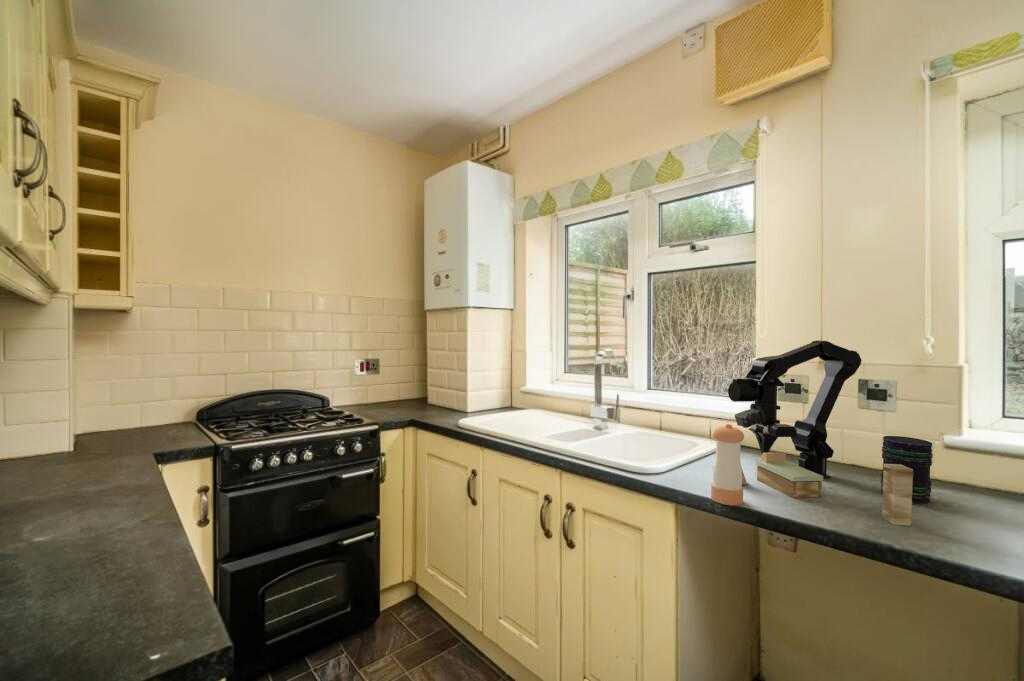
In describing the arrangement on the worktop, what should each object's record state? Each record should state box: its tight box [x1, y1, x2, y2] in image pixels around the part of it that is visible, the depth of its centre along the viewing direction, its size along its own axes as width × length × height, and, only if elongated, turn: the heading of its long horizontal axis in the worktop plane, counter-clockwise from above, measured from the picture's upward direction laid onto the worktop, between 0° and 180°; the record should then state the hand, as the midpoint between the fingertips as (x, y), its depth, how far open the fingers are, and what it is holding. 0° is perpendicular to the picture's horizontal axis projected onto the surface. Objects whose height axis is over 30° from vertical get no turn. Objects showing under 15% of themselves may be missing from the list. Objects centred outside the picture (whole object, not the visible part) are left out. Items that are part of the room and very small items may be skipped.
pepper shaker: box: [710, 423, 745, 506], centre depth 113 cm, size 7×7×19 cm
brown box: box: [881, 464, 913, 526], centre depth 102 cm, size 4×4×12 cm
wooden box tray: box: [756, 465, 823, 499], centre depth 123 cm, size 8×14×4 cm, turn 7°
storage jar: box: [880, 435, 933, 506], centre depth 117 cm, size 10×10×15 cm
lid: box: [755, 451, 824, 482], centre depth 123 cm, size 8×14×4 cm, turn 7°
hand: (764, 454), depth 133 cm, fingers closed
